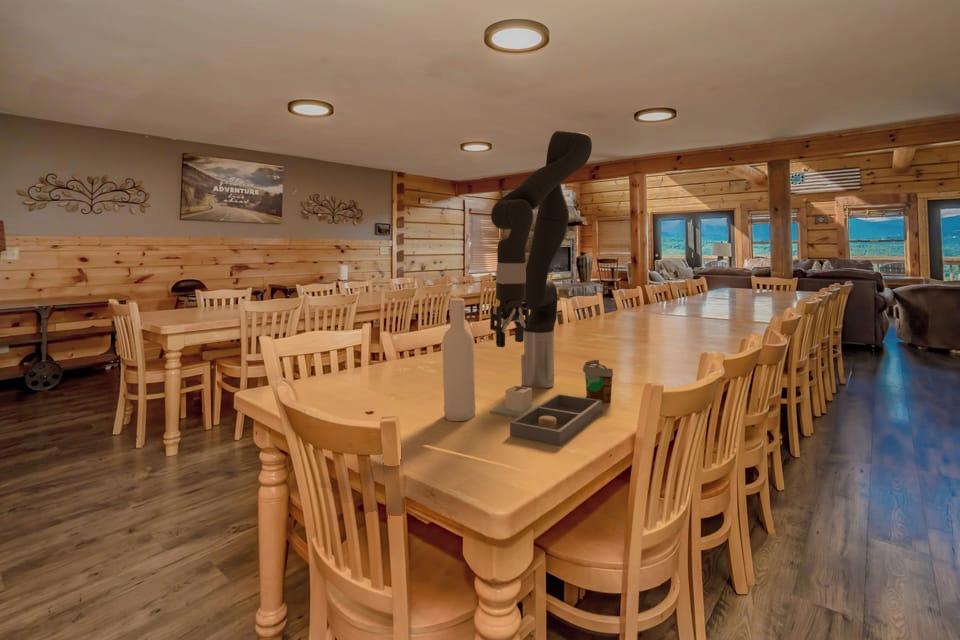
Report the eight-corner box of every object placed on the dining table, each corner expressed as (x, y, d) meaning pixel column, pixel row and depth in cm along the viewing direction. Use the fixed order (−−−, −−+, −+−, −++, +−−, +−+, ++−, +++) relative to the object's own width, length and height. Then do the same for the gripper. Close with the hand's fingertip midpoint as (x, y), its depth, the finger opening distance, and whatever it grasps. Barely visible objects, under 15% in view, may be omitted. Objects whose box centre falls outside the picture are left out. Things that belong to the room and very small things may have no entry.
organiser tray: (510, 437, 110) (509, 422, 109) (558, 406, 131) (558, 393, 131) (559, 447, 103) (559, 431, 103) (601, 413, 125) (601, 400, 124)
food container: (577, 393, 143) (577, 360, 142) (597, 392, 143) (598, 359, 142) (590, 406, 131) (590, 369, 129) (612, 405, 131) (613, 368, 130)
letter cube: (505, 408, 127) (505, 389, 126) (515, 403, 131) (515, 385, 130) (522, 412, 124) (522, 392, 123) (532, 406, 128) (532, 387, 127)
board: (489, 414, 126) (489, 410, 126) (510, 403, 135) (510, 399, 135) (527, 421, 120) (527, 417, 120) (547, 409, 129) (547, 405, 129)
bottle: (481, 418, 123) (479, 298, 119) (454, 424, 119) (450, 301, 115) (465, 409, 130) (462, 297, 126) (438, 415, 126) (435, 298, 122)
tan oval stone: (535, 432, 111) (535, 419, 111) (543, 427, 115) (543, 414, 114) (551, 435, 109) (551, 422, 109) (559, 430, 112) (559, 417, 112)
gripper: (514, 279, 131) (513, 338, 134) (482, 281, 120) (481, 346, 122) (538, 280, 127) (537, 342, 129) (507, 283, 116) (506, 350, 118)
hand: (510, 344), depth 126 cm, fingers open, 8 cm apart
